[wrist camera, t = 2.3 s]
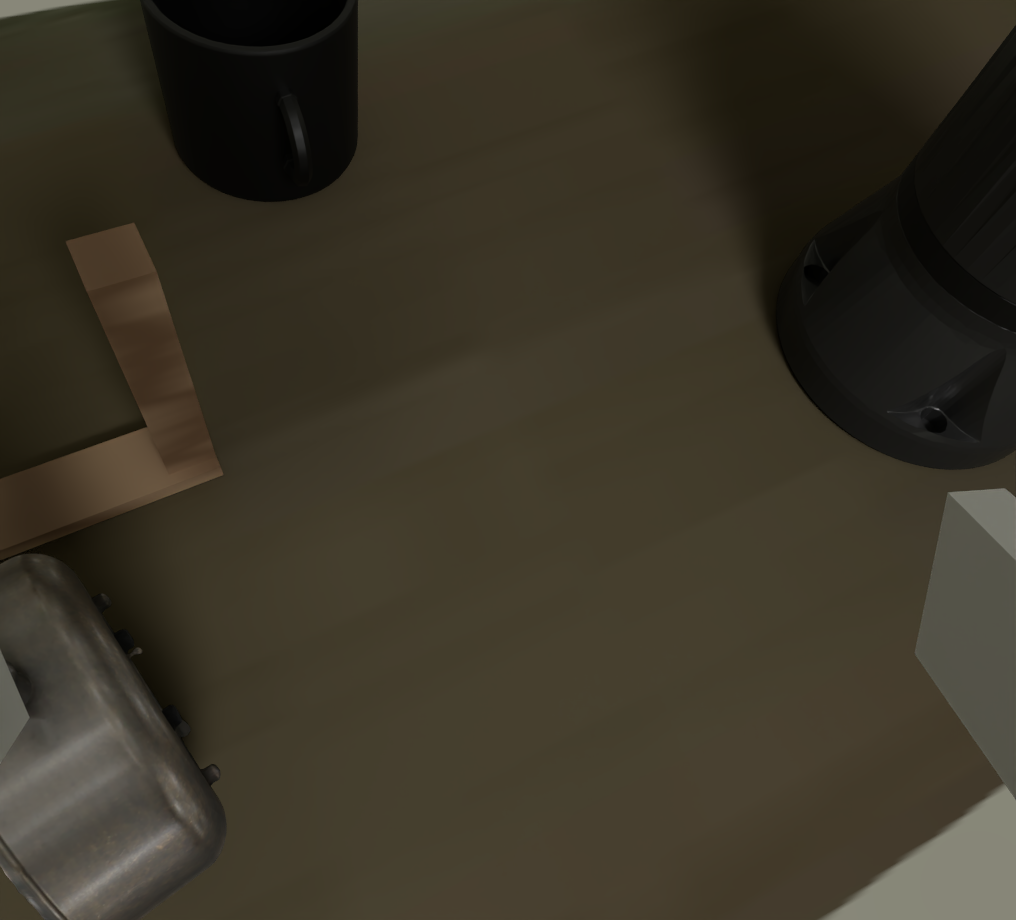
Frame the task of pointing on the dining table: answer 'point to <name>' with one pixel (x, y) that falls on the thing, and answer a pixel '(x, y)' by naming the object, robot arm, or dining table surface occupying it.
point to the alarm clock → (93, 761)
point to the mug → (259, 91)
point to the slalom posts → (159, 395)
